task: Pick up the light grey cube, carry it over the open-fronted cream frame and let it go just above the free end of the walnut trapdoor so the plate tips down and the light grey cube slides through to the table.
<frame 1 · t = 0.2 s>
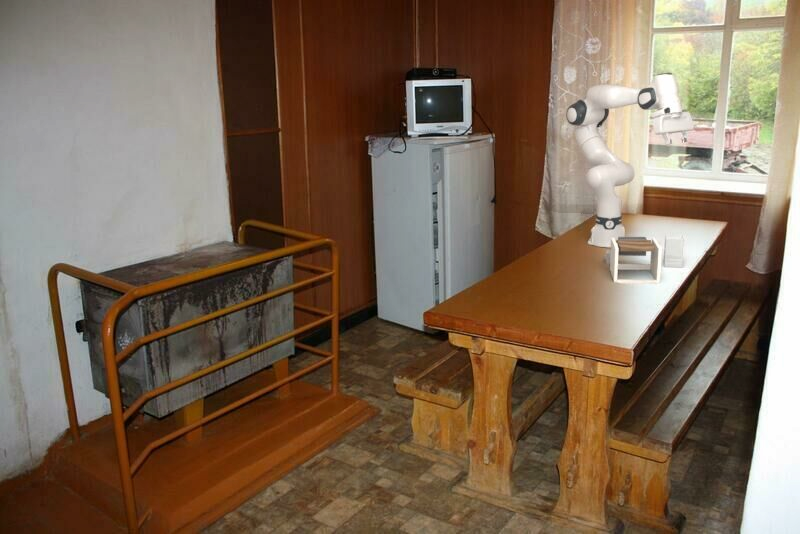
hand: (677, 143, 292), 52 cm above the table, tool tilted 20°, fingers open, 8 cm apart
frame: (633, 275, 288), on the table
light grey cube: (611, 262, 309), on the table
supplement box: (672, 265, 301), on the table
trapdoor: (634, 250, 288), point 10 cm above the table, hinge at 0.0°
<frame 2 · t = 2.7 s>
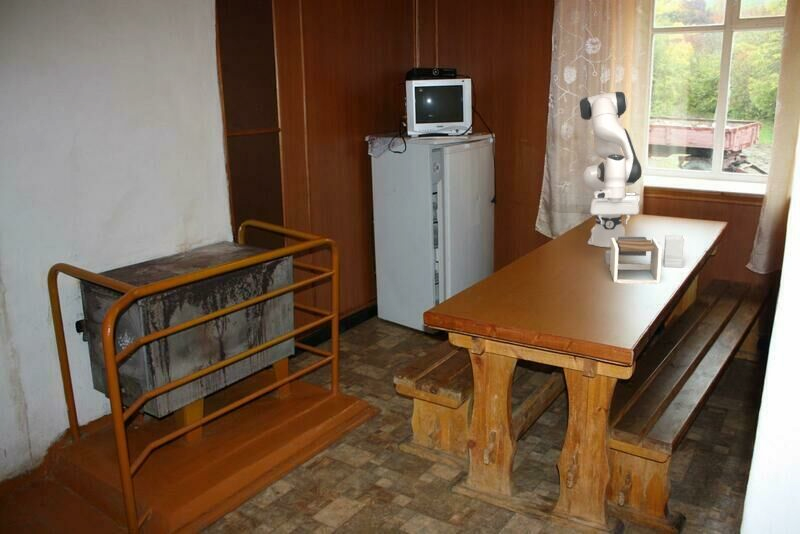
hand: (613, 224, 303), 17 cm above the table, tool pointing down, fingers open, 8 cm apart
nothing on the table moved.
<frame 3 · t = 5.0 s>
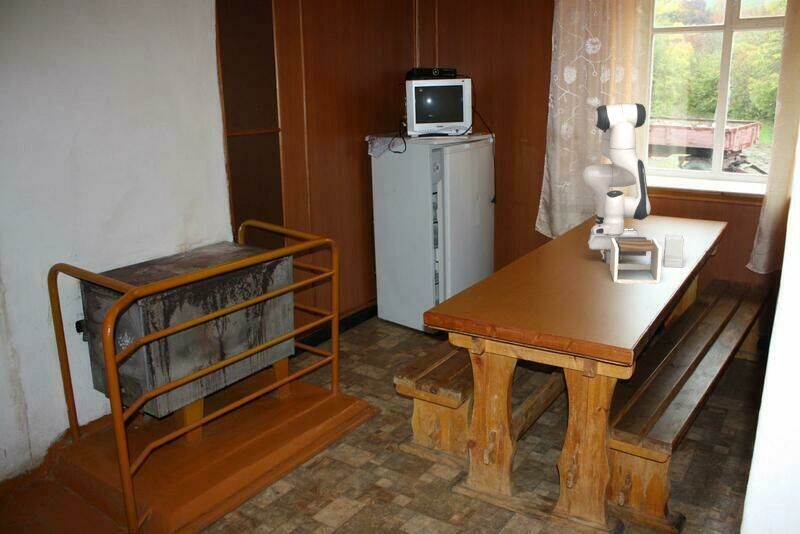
hand: (611, 258, 308), 2 cm above the table, tool pointing down, fingers closed on light grey cube, 5 cm apart
light grey cube: (611, 262, 309), on the table, touching gripper
everything else where it was.
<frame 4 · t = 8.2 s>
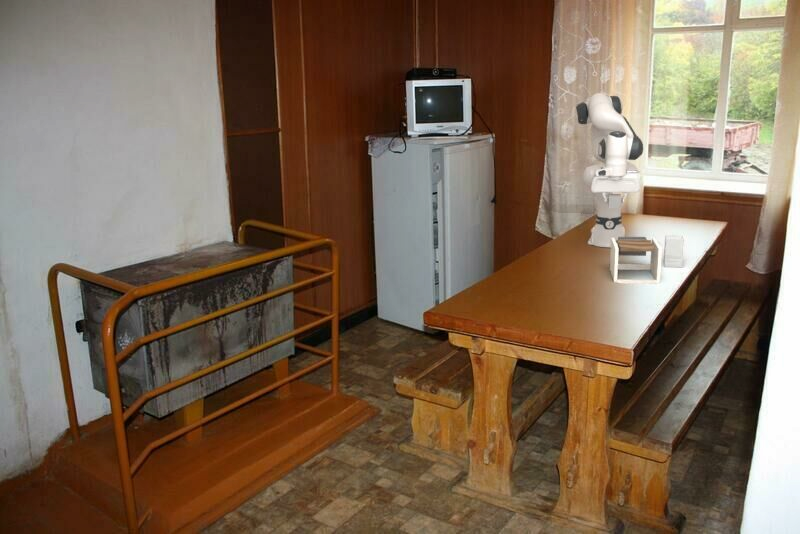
hand: (614, 202, 301), 27 cm above the table, tool pointing down, fingers closed on light grey cube, 5 cm apart
light grey cube: (614, 206, 302), point 25 cm above the table, touching gripper
everything else where it was.
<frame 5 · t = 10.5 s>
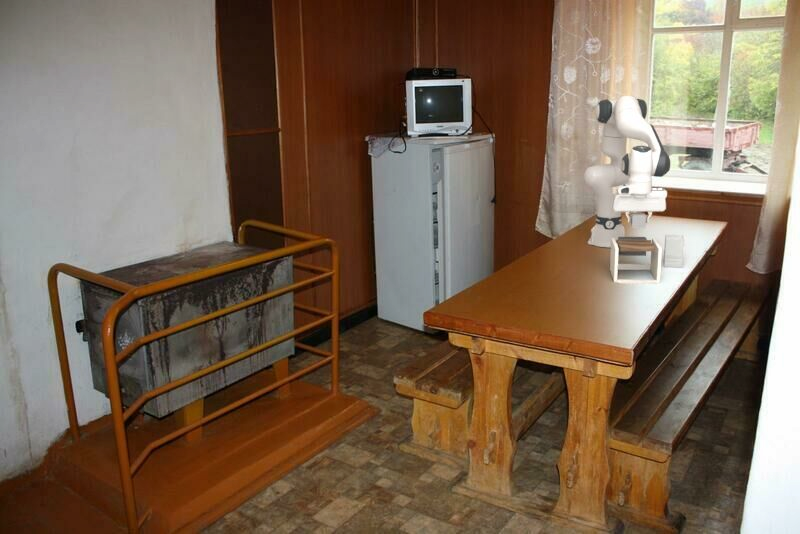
hand: (637, 222, 279), 23 cm above the table, tool pointing down, fingers closed on light grey cube, 5 cm apart
light grey cube: (637, 226, 279), point 22 cm above the table, touching gripper
everything else where it was.
when the fingers open (18 cm above the table, at t = 11.5 s): light grey cube drops 10 cm and tips over, resting on trapdoor.
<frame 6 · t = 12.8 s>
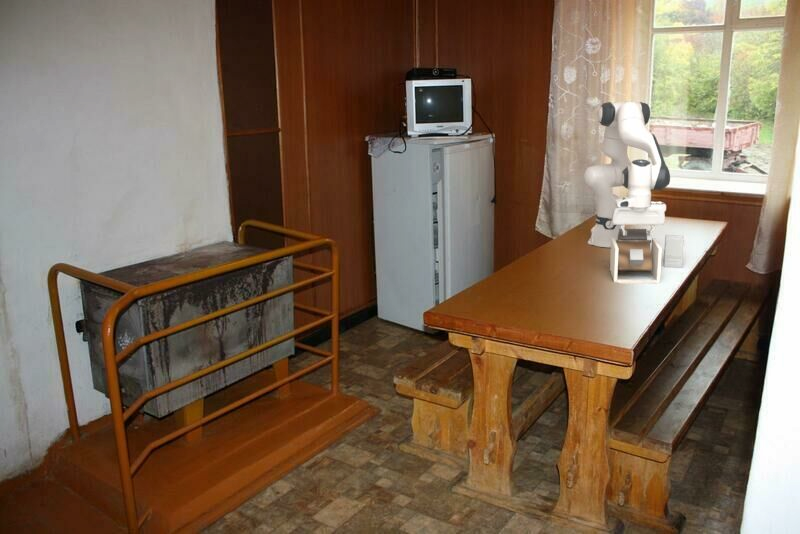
hand: (637, 235, 281), 18 cm above the table, tool pointing down, fingers open, 8 cm apart
light grey cube: (635, 261, 286), point 7 cm above the table, tilted 42°, touching trapdoor
trapdoor: (633, 253, 292), point 8 cm above the table, hinge at -42.3°, touching light grey cube
everything else where it was.
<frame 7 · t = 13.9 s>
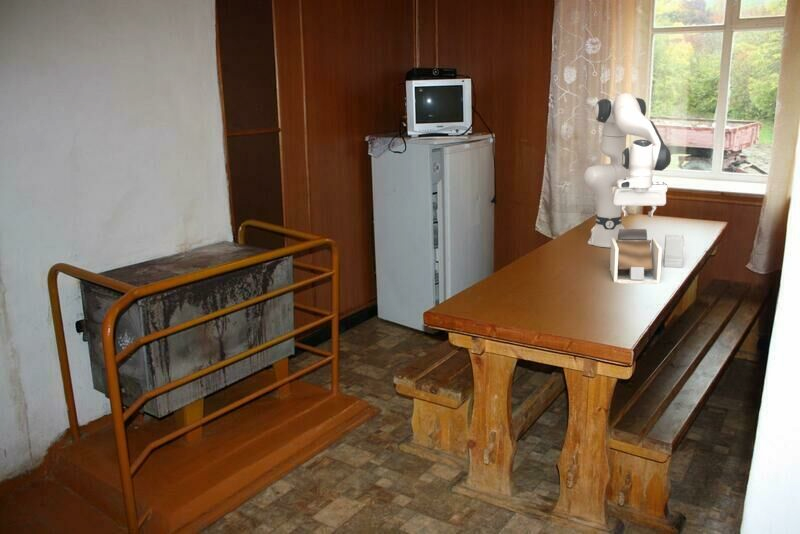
hand: (638, 216, 278), 26 cm above the table, tool pointing down, fingers open, 8 cm apart
light grey cube: (636, 267, 281), point 6 cm above the table, tilted 161°, touching frame, trapdoor
trapdoor: (633, 253, 292), point 8 cm above the table, hinge at -40.4°, touching light grey cube
everything else where it was.
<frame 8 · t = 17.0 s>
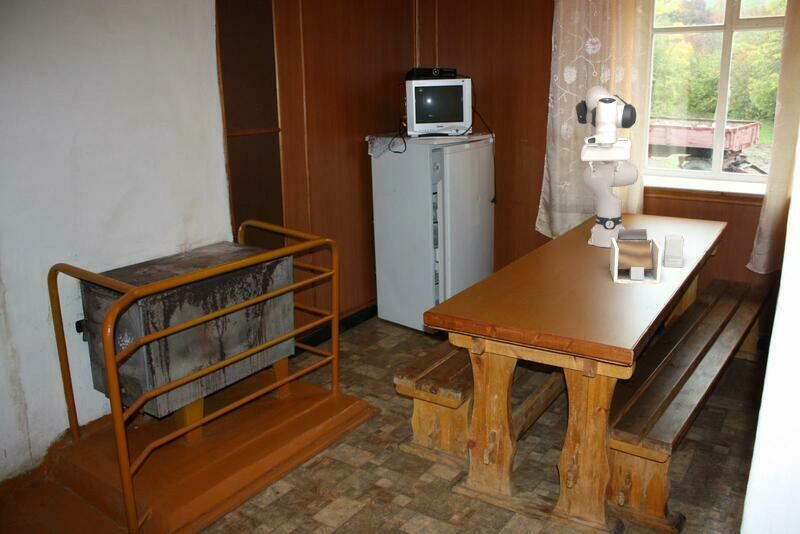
hand: (604, 171, 294), 41 cm above the table, tool pointing down, fingers open, 8 cm apart
nothing on the table moved.
at the end: light grey cube point 5.5 cm above the table; light grey cube 6.2 cm from the frame (horizontally); the gripper is holding nothing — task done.
